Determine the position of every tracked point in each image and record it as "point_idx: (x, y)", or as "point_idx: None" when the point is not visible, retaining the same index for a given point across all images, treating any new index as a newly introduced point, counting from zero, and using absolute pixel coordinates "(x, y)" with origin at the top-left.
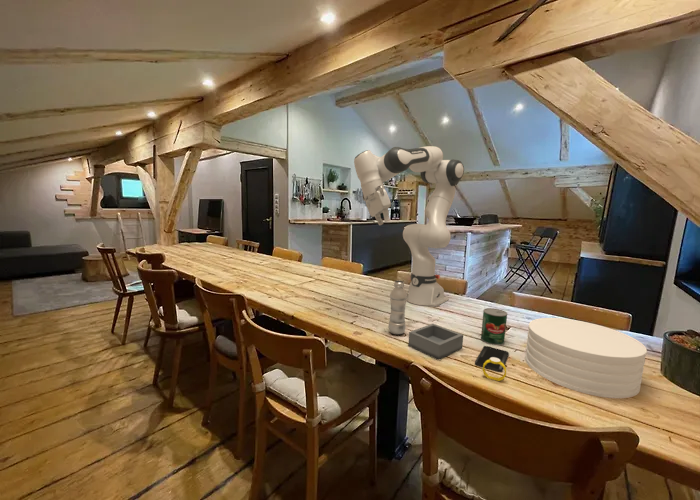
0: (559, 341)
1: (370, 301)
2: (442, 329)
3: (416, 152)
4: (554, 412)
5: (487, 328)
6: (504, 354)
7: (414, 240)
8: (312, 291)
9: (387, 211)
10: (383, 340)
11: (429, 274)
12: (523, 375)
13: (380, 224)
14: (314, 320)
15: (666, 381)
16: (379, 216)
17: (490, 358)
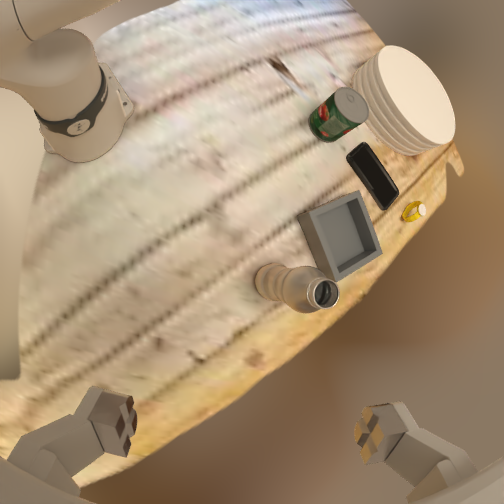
0: (438, 135)
1: (54, 267)
2: (331, 208)
3: None
4: (440, 202)
5: (345, 133)
6: (369, 152)
7: (7, 53)
8: None
9: (458, 459)
10: (295, 318)
11: (99, 79)
12: (402, 173)
13: (135, 419)
14: (176, 427)
15: None
16: (61, 466)
17: (420, 213)
